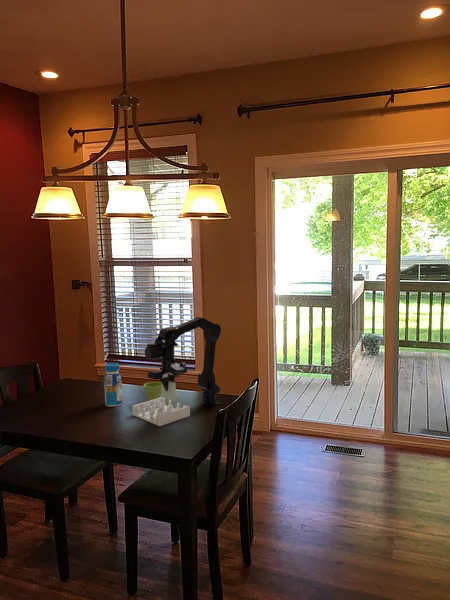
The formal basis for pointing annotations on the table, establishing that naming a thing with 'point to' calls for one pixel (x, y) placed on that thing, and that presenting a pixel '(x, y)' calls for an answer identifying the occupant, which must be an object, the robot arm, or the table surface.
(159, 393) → the plant pot
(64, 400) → the table surface
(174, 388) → the green square slab
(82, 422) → the table surface
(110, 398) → the beverage bottle
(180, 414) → the dish rack
